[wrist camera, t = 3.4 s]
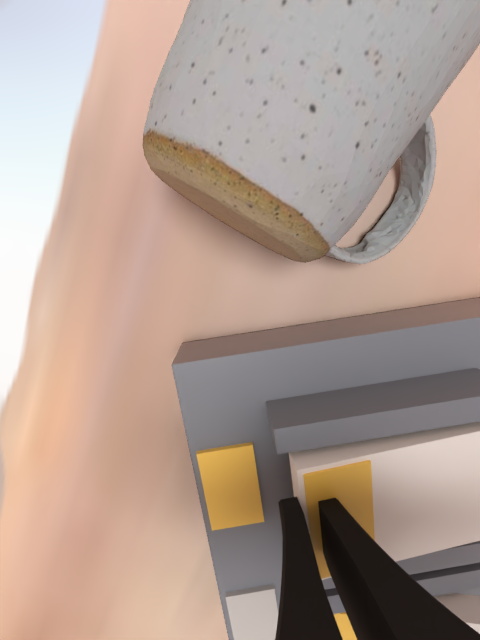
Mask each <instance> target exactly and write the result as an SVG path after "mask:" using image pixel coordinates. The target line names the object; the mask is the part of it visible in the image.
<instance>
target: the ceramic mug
mask: <svg viewBox="0 0 480 640" xmlns="http://www.w3.org/2000/svg"><path fill="white" fill-rule="evenodd" d="M479 44H480V0H190V2H189V5H188V7H187V10H186V13H185V16H184V19H183V22H182V24H181V27H180V29H179V31H178V34H177V36H176V38H175V41H174V43H173V45H172V47H171V49H170V51H169V54H168V56H167V59H166V61H165V64H164V66H163V68H162V71H161V73H160V76H159V78H158V81H157V83H156V86H155V88H154V92H153V96H152V98H151V101H150V107H149V111H148V115H147V120H146V124H145V128H144V133H143V149H144V155H145V157H146V160H147V162H148V164H149V166H150V168H151V170H152V171H153V172H154V173H155V174H156V175H157V176H158V177H159V178H160V179H161V180H162V181H164V182H165V183H166V184H167V185H169V186H170V187H171V188H173V189H174V190H175V191H177V192H178V193H180V194H181V195H183V196H184V197H186V198H187V199H189V200H190V201H192V202H193V203H195V204H196V205H198V206H199V207H201V208H202V209H204V210H205V211H207V212H208V213H210V214H211V215H213V216H214V217H216V218H217V219H219V220H221V221H222V222H224V223H226V224H227V225H229V226H231V227H232V228H234V229H236V230H237V231H239V232H241V233H242V234H244V235H246V236H248V237H249V238H251V239H253V240H254V241H256V242H258V243H260V244H262V245H263V246H265V247H267V248H269V249H271V250H272V251H274V252H276V253H278V254H281V255H283V256H285V257H287V258H289V259H291V260H294V261H298V262H305V263H306V262H309V261H313V260H316V259H320V258H321V257H323V256H324V255H327V256H329V257H332V258H335V259H338V260H341V261H344V262H350V263H357V264H364V263H368V262H371V261H374V260H376V259H378V258H380V257H382V256H384V255H386V254H387V253H388V252H390V251H391V250H392V249H393V248H394V247H395V246H396V245H397V244H398V243H400V242H401V241H402V239H403V238H404V237H405V236H406V235H407V234H408V232H409V231H410V230H411V228H412V227H413V226H414V224H415V223H416V221H417V220H418V218H419V216H420V214H421V212H422V211H423V208H424V206H425V204H426V202H427V199H428V197H429V194H430V191H431V188H432V185H433V180H434V175H435V166H436V142H435V130H434V125H433V122H432V119H431V116H430V113H431V112H432V111H433V109H434V108H435V106H436V105H437V103H438V102H439V100H440V99H441V97H442V96H443V94H444V93H445V91H446V90H447V89H448V87H449V86H450V85H451V83H452V82H453V81H454V79H455V78H456V77H457V75H458V74H459V73H460V71H461V70H462V68H463V67H464V66H465V64H466V63H467V61H468V60H469V59H470V57H471V56H472V54H473V53H474V51H475V50H476V48H477V47H478V45H479ZM399 157H400V158H401V171H400V178H399V187H398V191H397V193H396V194H395V198H394V201H393V202H392V204H391V206H390V207H389V209H388V210H387V211H386V213H385V214H384V215H383V217H382V218H381V219H380V220H379V222H378V223H377V224H376V225H375V227H374V228H373V229H372V230H371V231H370V232H368V233H367V234H366V235H365V237H364V238H363V240H362V242H361V243H360V244H358V245H356V246H354V247H350V248H344V249H340V248H338V247H337V246H336V245H335V244H336V243H337V242H338V241H339V240H340V239H341V238H342V237H343V236H344V235H345V234H346V233H347V232H348V230H349V229H350V228H351V227H352V226H353V225H354V224H355V222H356V221H357V220H358V218H359V217H360V215H361V214H362V213H363V211H364V210H365V208H366V207H367V205H368V204H369V203H370V201H371V200H372V198H373V196H374V195H375V193H376V191H377V190H378V188H379V187H380V185H381V183H382V182H383V180H384V178H385V177H386V175H387V174H388V172H389V170H390V169H391V168H392V166H393V165H394V164H395V162H396V161H397V159H398V158H399Z"/></svg>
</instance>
